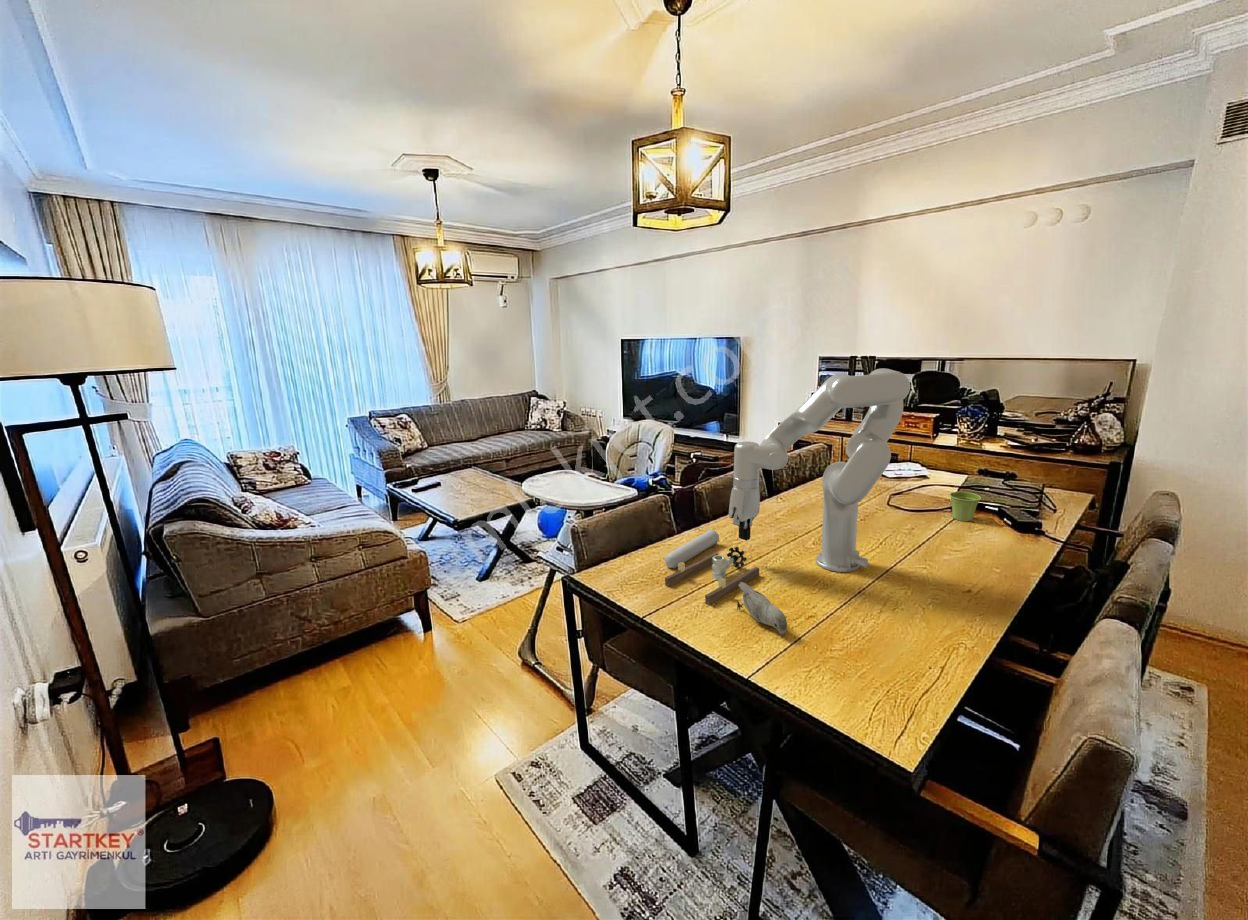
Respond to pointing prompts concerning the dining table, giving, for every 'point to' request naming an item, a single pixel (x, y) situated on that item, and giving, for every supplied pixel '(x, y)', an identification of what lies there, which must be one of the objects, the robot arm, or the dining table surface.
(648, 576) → the dining table surface
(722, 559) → the valve
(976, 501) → the plant pot
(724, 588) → the guide track
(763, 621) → the decorative bird
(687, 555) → the tube
